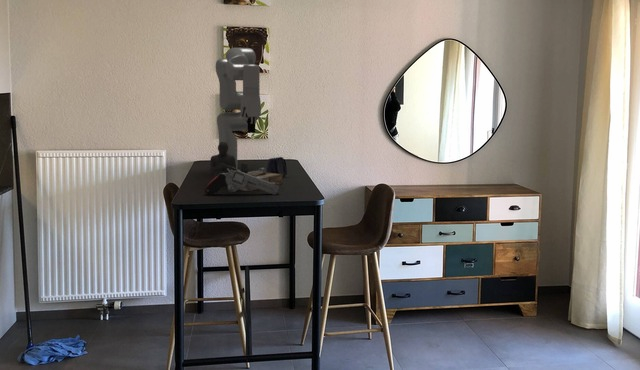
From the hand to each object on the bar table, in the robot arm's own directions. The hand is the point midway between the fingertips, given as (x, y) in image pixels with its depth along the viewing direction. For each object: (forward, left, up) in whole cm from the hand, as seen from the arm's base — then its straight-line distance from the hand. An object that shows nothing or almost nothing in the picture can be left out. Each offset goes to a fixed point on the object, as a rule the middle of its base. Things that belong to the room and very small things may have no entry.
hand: (251, 132), depth 312 cm
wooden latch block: (0, +2, -25) cm, 25 cm away
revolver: (+9, -19, -26) cm, 33 cm away
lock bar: (-2, +4, -20) cm, 21 cm away
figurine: (-15, -2, -25) cm, 29 cm away
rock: (-7, +31, -25) cm, 41 cm away
